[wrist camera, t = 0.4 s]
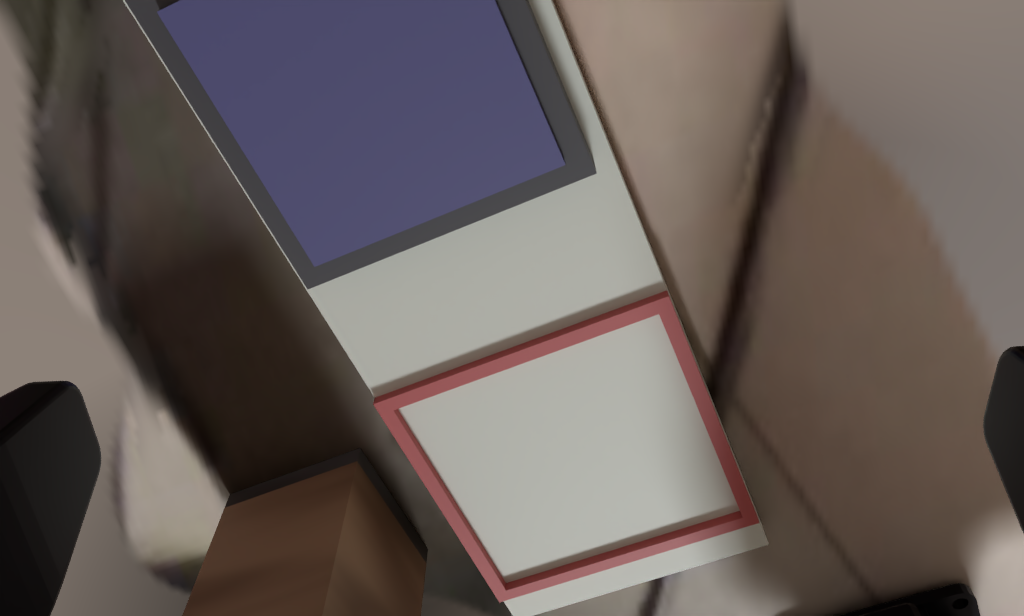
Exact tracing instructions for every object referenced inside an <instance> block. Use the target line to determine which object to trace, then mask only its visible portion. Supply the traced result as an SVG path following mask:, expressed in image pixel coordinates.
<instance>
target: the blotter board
mask: <svg viewBox="0 0 1024 616" xmlns="http://www.w3.org/2000/svg"><path fill="white" fill-rule="evenodd" d="M123 1H124V3H125V4H126V6H127V8H128V9H129V11H130V12H131V14H132V15H133V17H134V19H135V20H136V22H137V23H138V25H139V26H140V28H141V30H142V31H143V33H144V34H145V36H146V37H147V39H148V41H149V42H150V44H151V45H152V47H153V49H154V50H155V52H156V53H157V55H158V56H159V58H160V60H161V61H162V63H163V64H164V66H165V67H166V69H167V71H168V72H169V74H170V75H171V77H172V79H173V80H174V82H175V83H176V85H177V86H178V88H179V90H180V91H181V93H182V94H183V96H184V97H185V99H186V101H187V102H188V104H189V105H190V107H191V109H192V110H193V112H194V113H195V115H196V116H197V118H198V120H199V121H200V123H201V124H202V126H203V127H204V129H205V131H206V132H207V134H208V135H209V137H210V139H211V140H212V142H213V143H214V145H215V146H216V148H217V150H218V151H219V153H220V154H221V156H222V157H223V159H224V161H225V162H226V164H227V165H228V167H229V168H230V170H231V172H232V173H233V175H234V176H235V178H236V180H237V181H238V183H239V184H240V186H241V187H242V189H243V191H244V192H245V194H246V195H247V197H248V198H249V200H250V202H251V203H252V205H253V206H254V208H255V210H256V211H257V213H258V214H259V216H260V217H261V219H262V221H263V222H264V224H265V225H266V227H267V228H268V230H269V232H270V233H271V235H272V236H273V238H274V240H275V241H276V243H277V244H278V246H279V247H280V249H281V251H282V252H283V254H284V255H285V257H286V258H287V260H288V262H289V263H290V265H291V266H292V268H293V270H294V271H295V273H296V274H297V276H298V277H299V279H300V281H301V282H302V284H303V285H304V287H305V288H306V290H307V292H308V293H309V295H310V296H311V298H312V300H313V301H314V303H315V304H316V306H317V307H318V309H319V311H320V312H321V314H322V315H323V317H324V318H325V320H326V322H327V323H328V325H329V326H330V328H331V329H332V331H333V333H334V334H335V336H336V337H337V339H338V341H339V342H340V344H341V345H342V347H343V348H344V350H345V352H346V353H347V355H348V356H349V358H350V359H351V361H352V363H353V364H354V366H355V367H356V369H357V371H358V372H359V374H360V375H361V377H362V378H363V380H364V382H365V383H366V385H367V386H368V388H369V389H370V391H371V393H372V394H373V396H374V397H375V399H374V404H373V405H374V406H375V408H376V409H377V411H378V412H379V414H380V416H381V417H382V419H383V420H384V422H385V423H386V425H387V427H388V428H389V430H390V431H391V433H392V434H393V436H394V438H395V439H396V441H397V442H398V444H399V445H400V447H401V449H402V450H403V452H404V453H405V455H406V456H407V458H408V460H409V461H410V463H411V464H412V466H413V467H414V469H415V471H416V472H417V474H418V475H419V477H420V478H421V480H422V481H423V483H424V485H425V486H426V488H427V489H428V491H429V492H430V494H431V496H432V497H433V499H434V500H435V502H436V503H437V505H438V507H439V508H440V510H441V511H442V513H443V514H444V516H445V518H446V519H447V521H448V522H449V524H450V525H451V527H452V529H453V530H454V532H455V533H456V535H457V536H458V538H459V540H460V541H461V543H462V544H463V546H464V547H465V549H466V551H467V552H468V554H469V555H470V557H471V558H472V560H473V561H474V563H475V565H476V566H477V568H478V569H479V571H480V572H481V574H482V576H483V577H484V579H485V580H486V582H487V583H488V585H489V587H490V588H491V590H492V591H493V593H494V594H495V596H496V598H497V599H498V601H499V602H503V601H504V603H505V604H506V606H507V607H508V609H509V610H510V612H511V614H512V615H513V616H534V615H537V614H540V613H543V612H547V611H550V610H553V609H557V608H560V607H563V606H567V605H570V604H573V603H577V602H580V601H583V600H587V599H590V598H593V597H597V596H600V595H603V594H607V593H610V592H613V591H617V590H620V589H623V588H627V587H630V586H633V585H637V584H640V583H643V582H647V581H650V580H653V579H657V578H660V577H663V576H667V575H670V574H673V573H677V572H680V571H683V570H687V569H690V568H693V567H697V566H700V565H703V564H707V563H710V562H713V561H717V560H720V559H723V558H727V557H730V556H733V555H737V554H740V553H743V552H747V551H750V550H753V549H757V548H760V547H763V546H767V545H769V543H768V540H767V537H766V534H765V532H764V529H763V526H762V523H761V521H760V518H759V516H758V513H757V511H756V508H755V506H754V503H753V501H752V498H751V496H750V493H749V491H748V488H747V486H746V483H745V481H744V478H743V476H742V473H741V471H740V468H739V466H738V463H737V461H736V458H735V456H734V453H733V451H732V448H731V446H730V443H729V441H728V438H727V435H726V433H725V430H724V428H723V425H722V423H721V420H720V418H719V415H718V413H717V410H716V408H715V405H714V403H713V400H712V398H711V395H710V393H709V390H708V388H707V385H706V383H705V380H704V378H703V375H702V373H701V370H700V368H699V365H698V363H697V360H696V358H695V355H694V353H693V350H692V348H691V345H690V343H689V340H688V338H687V335H686V333H685V330H684V328H683V325H682V323H681V320H680V318H679V315H678V313H677V310H676V308H675V305H674V303H673V300H672V298H671V295H670V293H669V290H668V288H667V285H666V283H665V280H664V278H663V275H662V273H661V270H660V268H659V265H658V263H657V260H656V258H655V255H654V253H653V250H652V248H651V245H650V243H649V240H648V238H647V235H646V233H645V230H644V228H643V225H642V223H641V220H640V218H639V215H638V213H637V210H636V208H635V205H634V203H633V200H632V198H631V195H630V193H629V190H628V188H627V185H626V183H625V180H624V178H623V175H622V173H621V170H620V168H619V165H618V163H617V160H616V158H615V155H614V152H613V150H612V147H611V145H610V142H609V140H608V137H607V135H606V132H605V130H604V127H603V125H602V122H601V120H600V117H599V115H598V112H597V110H596V107H595V105H594V102H593V100H592V97H591V95H590V92H589V90H588V87H587V85H586V82H585V80H584V77H583V75H582V72H581V70H580V67H579V65H578V62H577V60H576V57H575V55H574V52H573V50H572V47H571V45H570V42H569V40H568V37H567V35H566V32H565V30H564V27H563V25H562V22H561V20H560V17H559V15H558V12H557V10H556V7H555V5H554V2H553V0H123Z"/></svg>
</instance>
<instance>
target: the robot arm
mask: <svg viewBox="0 0 1024 616" xmlns="http://www.w3.org/2000/svg"><path fill="white" fill-rule="evenodd" d="M983 427H984V435H985V440H986V443H987V446H988V448H989V451H990V453H991V455H992V458H993V460H994V463H995V465H996V468H997V470H998V472H999V475H1000V477H1001V480H1002V482H1003V485H1004V487H1005V489H1006V492H1007V494H1008V497H1009V499H1010V502H1011V504H1012V507H1013V509H1014V511H1015V514H1016V516H1017V519H1018V521H1019V524H1020V526H1021V528H1022V531H1023V533H1024V346H1016V347H1010V348H1009V349H1007V350H1006V351H1004V352H1003V354H1002V355H1001V357H1000V359H999V361H998V364H997V368H996V372H995V376H994V380H993V384H992V387H991V391H990V395H989V399H988V403H987V407H986V411H985V415H984V424H983ZM100 466H101V452H100V446H99V443H98V440H97V437H96V434H95V431H94V428H93V425H92V422H91V420H90V417H89V414H88V411H87V408H86V405H85V402H84V400H83V396H82V394H81V392H80V390H79V389H78V388H77V387H76V385H74V384H73V383H71V382H68V381H50V382H49V381H48V382H32V383H28V384H25V385H23V386H21V387H19V388H17V389H15V390H14V391H11V392H9V393H7V394H6V395H4V396H2V397H0V616H50V615H51V612H52V610H53V608H54V605H55V603H56V600H57V597H58V594H59V592H60V589H61V586H62V584H63V581H64V578H65V574H66V572H67V569H68V565H69V562H70V560H71V556H72V553H73V550H74V547H75V544H76V541H77V538H78V535H79V532H80V529H81V526H82V523H83V520H84V517H85V514H86V511H87V508H88V505H89V502H90V499H91V496H92V493H93V490H94V487H95V484H96V481H97V478H98V475H99V471H100ZM841 616H980V613H979V609H978V605H977V601H976V598H975V597H974V595H973V593H972V591H971V590H970V588H969V586H967V585H965V584H959V583H958V584H952V585H948V586H945V587H941V588H938V589H934V590H930V591H927V592H923V593H920V594H916V595H913V596H909V597H905V598H902V599H898V600H895V601H891V602H888V603H884V604H880V605H877V606H873V607H870V608H866V609H862V610H859V611H855V612H852V613H848V614H845V615H841Z"/></svg>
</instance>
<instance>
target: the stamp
mask: <svg viewBox="0 0 1024 616" xmlns="http://www.w3.org/2000/svg"><path fill="white" fill-rule="evenodd" d="M427 552H428V549H427V548H426V546H425V545H424V543H423V542H422V540H421V539H420V537H419V536H418V534H417V533H416V531H415V530H414V528H413V527H412V525H411V524H410V522H409V521H408V519H407V518H406V516H405V515H404V513H403V512H402V510H401V509H400V507H399V506H398V504H397V503H396V501H395V500H394V498H393V497H392V495H391V494H390V492H389V491H388V489H387V488H386V486H385V485H384V483H383V482H382V480H381V479H380V477H379V476H378V474H377V473H376V471H375V470H374V468H373V467H372V465H371V464H370V462H369V461H368V459H367V458H366V456H365V455H364V453H363V452H362V450H361V449H360V448H359V449H356V450H353V451H350V452H348V453H345V454H342V455H339V456H336V457H334V458H331V459H328V460H325V461H322V462H320V463H317V464H314V465H311V466H308V467H305V468H303V469H300V470H297V471H294V472H291V473H289V474H286V475H283V476H280V477H277V478H275V479H272V480H269V481H266V482H263V483H261V484H258V485H255V486H252V487H249V488H247V489H244V490H241V491H238V492H235V493H232V494H230V496H229V498H228V501H227V503H226V506H225V509H224V511H223V514H222V516H221V519H220V521H219V524H218V526H217V529H216V531H215V534H214V537H213V539H212V542H211V544H210V547H209V549H208V552H207V554H206V557H205V559H204V562H203V564H202V567H201V570H200V572H199V575H198V577H197V580H196V582H195V585H194V587H193V590H192V592H191V595H190V598H189V600H188V603H187V605H186V608H185V610H184V613H183V615H182V616H421V607H422V598H423V589H424V580H425V570H426V561H427Z"/></svg>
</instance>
